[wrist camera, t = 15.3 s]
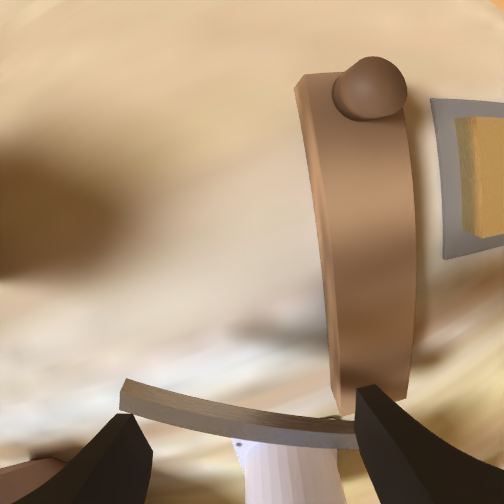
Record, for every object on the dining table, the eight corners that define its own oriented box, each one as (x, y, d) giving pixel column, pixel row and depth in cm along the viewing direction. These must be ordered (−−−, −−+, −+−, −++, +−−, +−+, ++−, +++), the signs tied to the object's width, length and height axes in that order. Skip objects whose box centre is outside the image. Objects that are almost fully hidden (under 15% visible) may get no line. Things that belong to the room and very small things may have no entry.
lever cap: (510, 220, 17) (530, 227, 15) (462, 229, 17) (482, 238, 15) (504, 120, 15) (526, 120, 13) (454, 118, 15) (475, 116, 13)
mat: (519, 239, 18) (521, 240, 18) (442, 258, 18) (445, 260, 18) (512, 104, 15) (514, 104, 15) (429, 99, 15) (432, 98, 15)
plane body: (390, 372, 21) (421, 424, 15) (331, 387, 21) (351, 445, 15) (372, 82, 15) (421, 58, 10) (293, 88, 15) (316, 58, 10)
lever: (402, 388, 17) (425, 426, 13) (384, 416, 17) (402, 455, 14) (141, 340, 15) (120, 382, 12) (137, 374, 16) (119, 418, 13)
